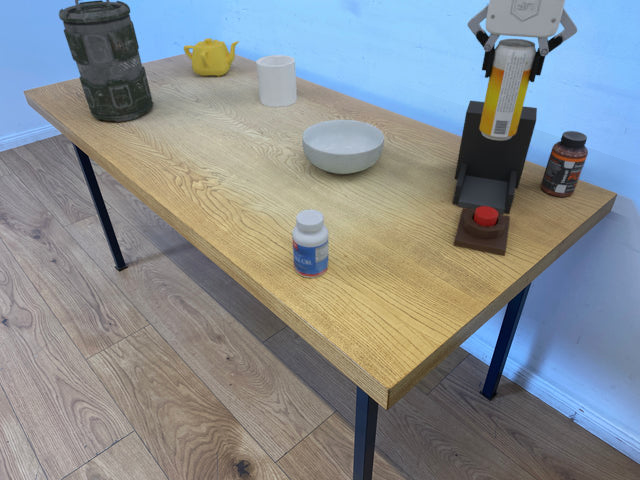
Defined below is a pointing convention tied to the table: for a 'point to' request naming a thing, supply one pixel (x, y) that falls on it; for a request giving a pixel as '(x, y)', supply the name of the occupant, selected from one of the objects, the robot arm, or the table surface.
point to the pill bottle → (310, 244)
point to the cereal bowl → (343, 145)
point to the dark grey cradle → (491, 162)
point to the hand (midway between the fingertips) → (509, 76)
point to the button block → (482, 233)
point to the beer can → (507, 88)
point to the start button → (485, 216)
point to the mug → (277, 80)
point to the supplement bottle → (565, 164)
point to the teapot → (211, 57)
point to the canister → (107, 59)
